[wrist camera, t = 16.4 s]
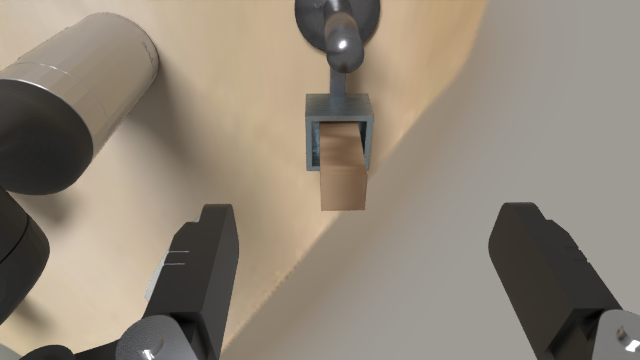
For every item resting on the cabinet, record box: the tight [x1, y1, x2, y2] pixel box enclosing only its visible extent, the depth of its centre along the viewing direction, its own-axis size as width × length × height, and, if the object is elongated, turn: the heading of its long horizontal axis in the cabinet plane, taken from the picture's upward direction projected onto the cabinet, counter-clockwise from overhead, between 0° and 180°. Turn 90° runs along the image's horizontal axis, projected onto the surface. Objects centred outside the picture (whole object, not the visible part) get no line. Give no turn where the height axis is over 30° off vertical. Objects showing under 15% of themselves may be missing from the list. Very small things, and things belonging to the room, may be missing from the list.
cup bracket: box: [295, 0, 380, 171], centre depth 40 cm, size 9×19×14 cm, turn 0°
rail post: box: [319, 121, 367, 211], centre depth 39 cm, size 4×4×12 cm
